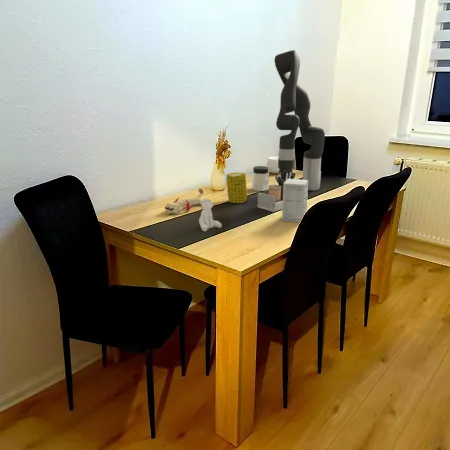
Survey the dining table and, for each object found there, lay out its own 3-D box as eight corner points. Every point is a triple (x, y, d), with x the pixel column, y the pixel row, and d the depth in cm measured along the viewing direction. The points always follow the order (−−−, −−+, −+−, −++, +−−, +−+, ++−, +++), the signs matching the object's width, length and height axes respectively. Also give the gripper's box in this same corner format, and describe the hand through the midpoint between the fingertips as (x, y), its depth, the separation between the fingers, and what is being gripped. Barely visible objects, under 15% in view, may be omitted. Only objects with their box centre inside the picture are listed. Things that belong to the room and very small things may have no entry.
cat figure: (194, 204, 225) (158, 212, 206) (195, 186, 223) (158, 193, 203) (210, 207, 219) (174, 216, 200) (211, 190, 217) (174, 196, 198)
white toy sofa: (280, 200, 226) (281, 186, 224) (296, 204, 219) (297, 190, 217) (257, 207, 215) (257, 192, 213) (273, 211, 208) (273, 197, 206)
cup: (266, 175, 280) (266, 159, 277) (267, 170, 291) (268, 155, 288) (286, 175, 278) (286, 160, 275) (286, 171, 290) (287, 156, 286)
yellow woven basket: (239, 208, 219) (224, 205, 226) (254, 198, 226) (239, 195, 233) (233, 179, 212) (218, 176, 219) (249, 169, 219) (234, 167, 226)
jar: (260, 192, 241) (261, 169, 237) (249, 189, 247) (249, 167, 243) (271, 189, 247) (272, 167, 243) (260, 186, 253) (260, 165, 249)
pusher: (275, 201, 221) (275, 185, 218) (285, 203, 216) (286, 187, 213) (273, 201, 220) (273, 185, 217) (283, 204, 215) (284, 188, 212)
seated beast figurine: (203, 232, 182) (203, 203, 178) (192, 226, 189) (191, 198, 185) (222, 227, 188) (222, 199, 184) (210, 222, 194) (210, 195, 190)
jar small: (273, 202, 220) (274, 183, 217) (283, 204, 216) (283, 186, 213) (265, 204, 216) (266, 186, 213) (275, 207, 212) (276, 188, 209)
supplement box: (307, 216, 201) (309, 179, 196) (303, 223, 193) (305, 184, 187) (285, 214, 204) (287, 178, 199) (281, 220, 196) (283, 182, 190)
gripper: (289, 155, 220) (287, 189, 226) (271, 158, 211) (269, 194, 217) (301, 157, 215) (299, 192, 220) (283, 161, 206) (281, 197, 212)
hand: (284, 193), depth 219 cm, fingers closed
